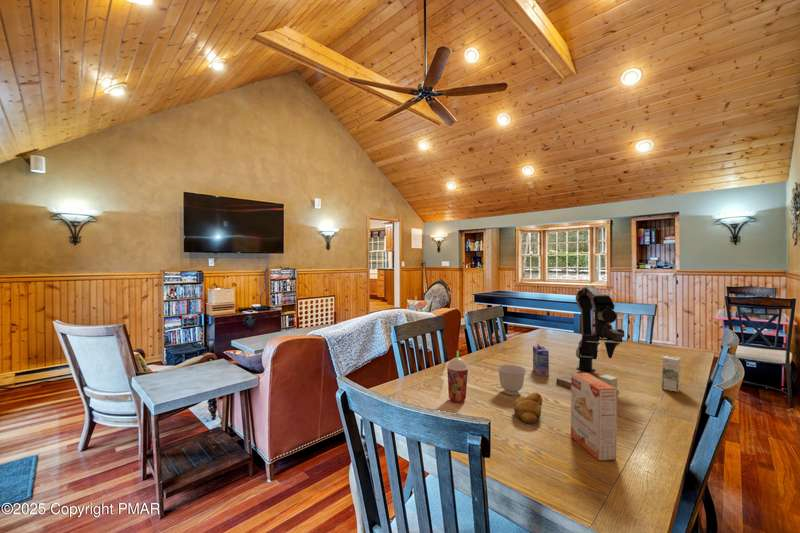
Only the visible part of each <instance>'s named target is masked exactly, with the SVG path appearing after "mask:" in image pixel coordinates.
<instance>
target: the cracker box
mask: <svg viewBox="0 0 800 533" xmlns="http://www.w3.org/2000/svg"><path fill="white" fill-rule="evenodd" d="M571 375H572V378H571V389H570V391H571V392H570V395H571V396H570V397H571V398H570V437H571V438H572V439H573V440H574V441H576V442H577V443H578V445H580V446H581V447H582V448H583V449H584V450H586V451H587V453H588V454H590V455H591V456H592V457H593V458H594V459H595V460H596V461H598V462H599V461H600V462H602V461H616V460H617V436H618V434H617V430H618V429H617V425H618V422H617V421H618V388H617V389H616V388H614V387H613V386H611V385H609V384H607V383H605V382H603V381H601V380H600V379H599V378H598V377H597V376H594V375H593V374H590V372H574V373H571Z"/></svg>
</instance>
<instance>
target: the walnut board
mask: <svg viewBox="0 0 800 533" xmlns="http://www.w3.org/2000/svg"><path fill="white" fill-rule="evenodd" d="M571 378H572V374H567V375H564V376H560V377H556V385H560V386H562V387H564V388H567V389H570V390H571Z"/></svg>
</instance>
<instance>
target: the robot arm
mask: <svg viewBox="0 0 800 533" xmlns="http://www.w3.org/2000/svg"><path fill="white" fill-rule="evenodd" d="M575 302H576V305H577V307H578V308H579V310H580V322H581V323H580V325H581V326H580V327H581V338H580V340H579V342H578V346H577V348H576V350H575V357H576V358H577V359H579V361H578V367H576V370H579V371H582V372H585V373H591V372H593V371H596V368H593V360H597V358H598V352H599V350H598V347H599V346H600V344H601V342H600V341H604V346H605V351H606V354H607V356H608V359H612V358H613V354H614V352H615V349H616V347H617V346H618V345H620V344H621V343H623V338H625V337H626V336H625V330H624V329H622V328H621V329H620V328H618V329H613V325H611V324H612V323H614V322H615V321H617V319H618V315H617V313H616V312H615V304H614V302H613V300H612V297H611V296H610V294H606V293H601V292H600V291H599V290H598V289H597V288H596V287H595V286H586V285H585V286H583V287H582V289H580V290H579V291H577V293H576V294H575ZM592 309H594V310H593V315H594V316H593V317H594V319H593V320H594V324H592V318H591V317H592V312H591V310H592ZM610 323H611V324H610ZM593 327H594V333H593V332H592V330H593V329H592V328H593Z"/></svg>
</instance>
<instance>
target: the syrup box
mask: <svg viewBox="0 0 800 533" xmlns="http://www.w3.org/2000/svg"><path fill="white" fill-rule="evenodd" d="M680 370H681V356H680V357H679V356H674V355H673V356H672V355H666V354H664V355H663V356H662V374H661V375H662V376H661V378H662V379H661V381H662V382H661V389H662V390H663V389H664V391H667V390H669V391H668V392H672V391H675V392H674V393H677V392H678V393H679V391H680V377H681V376H680V373H681V372H680Z"/></svg>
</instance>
